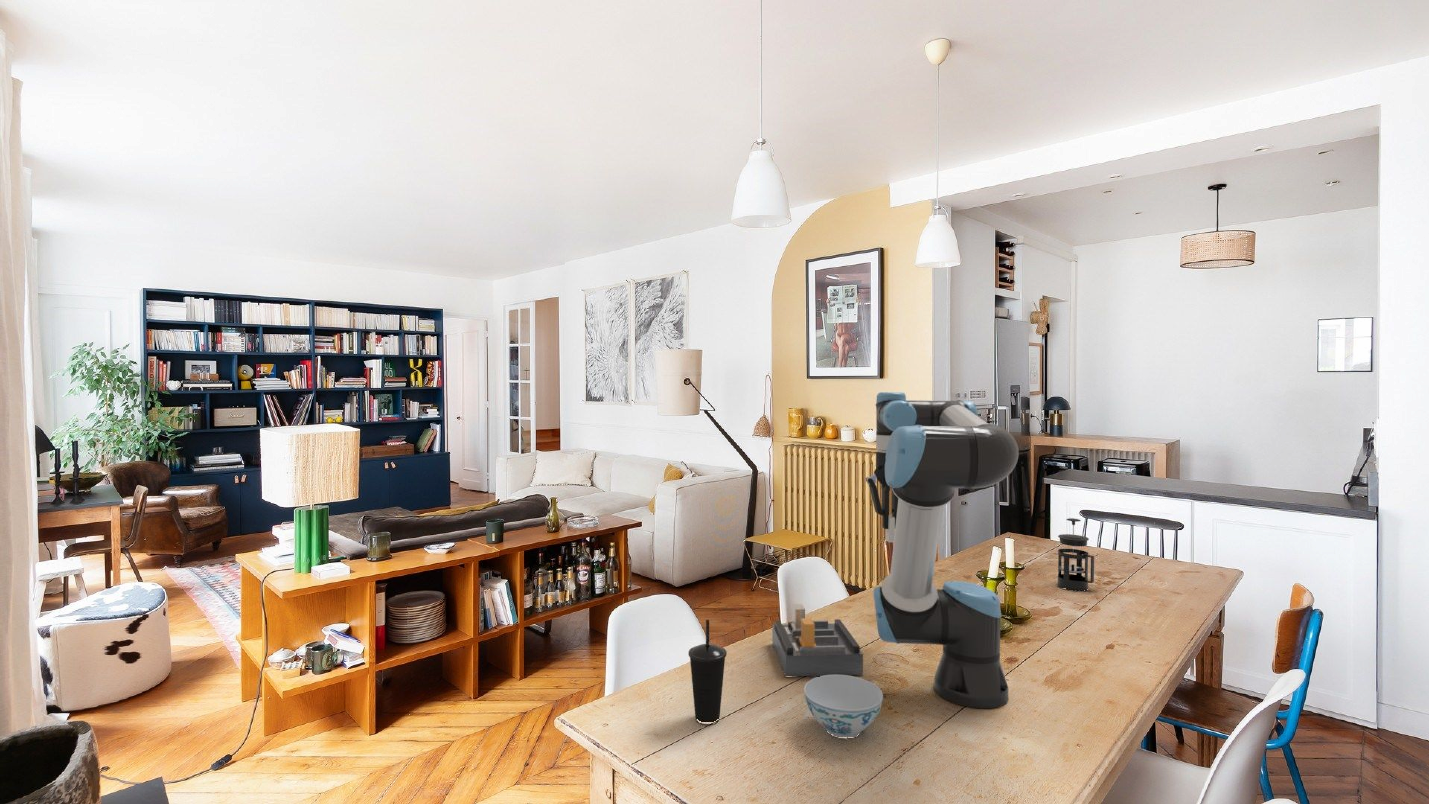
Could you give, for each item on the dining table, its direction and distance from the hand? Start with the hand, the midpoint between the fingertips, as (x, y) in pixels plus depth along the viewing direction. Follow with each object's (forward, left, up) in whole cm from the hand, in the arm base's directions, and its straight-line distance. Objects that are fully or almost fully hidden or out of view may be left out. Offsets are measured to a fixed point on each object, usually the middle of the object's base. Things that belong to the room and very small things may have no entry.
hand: (890, 541), depth 174 cm
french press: (+42, -77, -27) cm, 92 cm away
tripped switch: (-15, +25, -21) cm, 36 cm away
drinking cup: (-38, +50, -27) cm, 68 cm away
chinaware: (-44, +24, -27) cm, 57 cm away
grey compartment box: (-10, +22, -26) cm, 36 cm away
